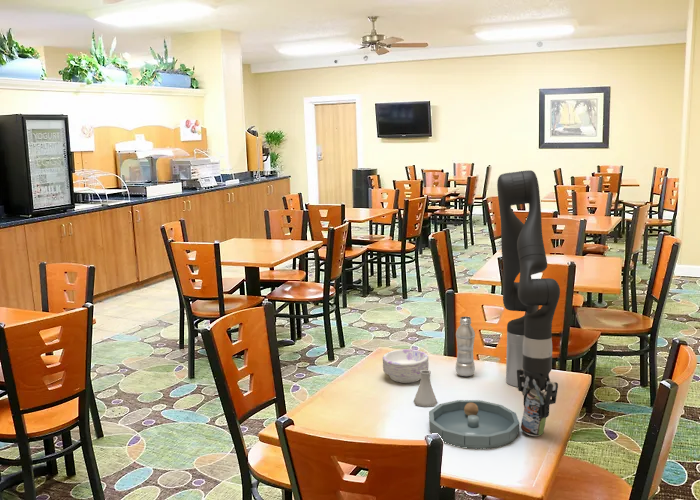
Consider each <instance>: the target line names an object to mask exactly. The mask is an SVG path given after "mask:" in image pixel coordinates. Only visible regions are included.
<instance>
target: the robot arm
mask: <svg viewBox="0 0 700 500" xmlns="http://www.w3.org/2000/svg"><path fill="white" fill-rule="evenodd" d="M496 183H497V184H496V185H497V186H496V187H497V188H496V189H497V198H498V208H499V213H500V214H499V216H500V247H501V249H500V250H501V259H502V269H503V270H502V272H503V273H502V275H503V277H502V278H503V279H502V303H503V307H504V309H506V310H507V311H512V312H526V314H525V315H523V316H521V317H518V318H514V319H512V320H510V321H508V322H507V324H506V365H505V366H506V367H505V369H506V370H505V371H506V372H505V382H506V383H507V384H508V385H510V386H512V387H515V388H516V387H517V390H518V391H519V392H521V393H522V394H521V395H522V396H523V408H524V407H525V402H526V397H527V394H528V393H529V392H530V390H532V389H534V390H535V391H536V393H537V396H539V398H540V402H541V404H540V417H542V418H546V419H547V418H548V417H549V416H550V405H553V404H556V402H557V396H558V388H559V384H558V383H557V382H553V381H551V379H550V373H551V372H552V369H553V367H552V366H553V364H552V363H553V341H552V340H553V338H552V337H553V336H552V331H553V330H552V329H553V328H552V327H553V320H554V316H555V312H556V308H557V306H558V303H559V300H560V295H561V288H560V285H559V283H558V281H557V280H556V279H554V278H549V277H548V278H547V277H546V278H532V276H533V275H536V274H539V273H542V272H544V271H545V270H547V268H548V260H547V256H546V255H547V254H546V250H545V244H544V239H543V229H542V226H543V225H542V209H541V208H542V207H541V196H540V194H541V193H540V185H539V181H538V177H537V175H536V173H535V171H534V170H529V169H528V170H521V171H514V172H505V173H502V174H499V176H498V177H497V181H496ZM525 204H528V213H527V217H526V219H525V222H523V221H522V220H520V219H519V218H518V216H517V215H516V213H515V212H514V211H513V209H512V206H517V205H519V206H520V205H525ZM518 275H519V282H518V281H517V282H516V279H517V277H518ZM538 306H540V309H539V310H538ZM541 391H544V392H543V393H542V392H541ZM544 395H545V397H546V400H544V397H543V396H544Z"/></svg>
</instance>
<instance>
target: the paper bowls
mask: <svg viewBox="0 0 700 500" xmlns="http://www.w3.org/2000/svg"><path fill="white" fill-rule="evenodd" d="M382 370H383V372H384V373H385V374H386V375H388V376H389V378H390V379H391V380H392V381H394V382H397V383H401V384H402V383H403V384H411V383H415V382H418V381H419V380H421V373H420V371H421V370H429V355H428V354H427V353H426V352H424V351H421V350H417V349H409V348H406V349H405V348H404V349H394V350H391V351H388V352H385V353H384V354H383V356H382Z"/></svg>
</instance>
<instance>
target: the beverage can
mask: <svg viewBox="0 0 700 500" xmlns="http://www.w3.org/2000/svg"><path fill="white" fill-rule="evenodd" d="M541 392H542V393H543V392H545V390H543V391H541ZM543 397H544V400H546V397H545V395H544V396H543ZM540 404H541V402H540V398H539V396H537V393H536V391H535V390H534V389H532V390H530V392H529V393H528V394H527V397H526V402H525V407H524V406H523V413H522V418H521V424H520V429H521V430H522V431H523V433H524V434H526V435H529V436H530V437H531V436H532V437H540V436H541V435H543V434H544V431H545V427H546V420H547V417H546V418H542V417H540Z"/></svg>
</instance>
